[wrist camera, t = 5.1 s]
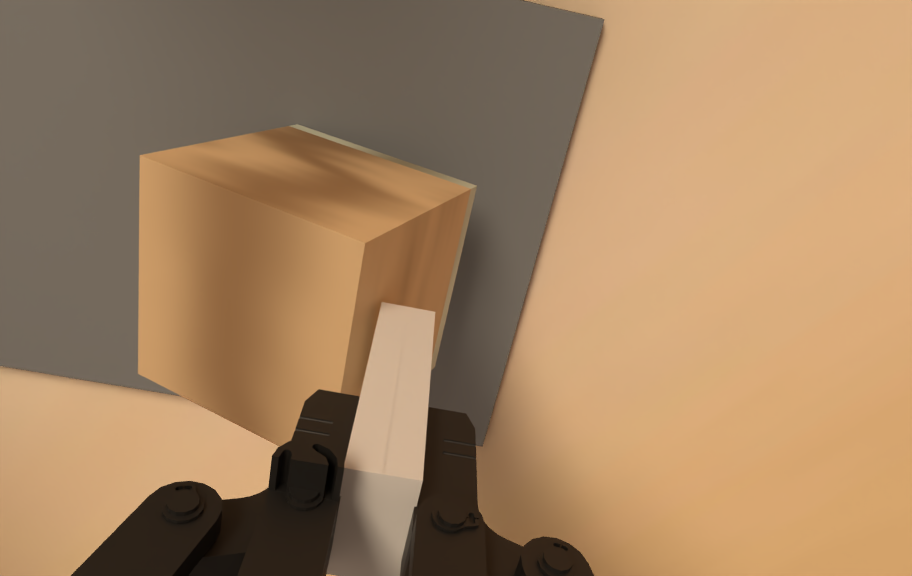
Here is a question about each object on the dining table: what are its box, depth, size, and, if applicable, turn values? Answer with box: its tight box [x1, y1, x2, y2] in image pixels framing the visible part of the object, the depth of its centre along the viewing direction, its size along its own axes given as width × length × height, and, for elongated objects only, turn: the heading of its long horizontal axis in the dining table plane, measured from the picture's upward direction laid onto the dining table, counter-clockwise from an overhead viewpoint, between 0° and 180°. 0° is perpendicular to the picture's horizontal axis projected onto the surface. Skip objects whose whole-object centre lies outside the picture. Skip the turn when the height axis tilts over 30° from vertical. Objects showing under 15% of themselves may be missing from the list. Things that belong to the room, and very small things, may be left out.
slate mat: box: [0, 0, 604, 446], centre depth 25 cm, size 26×18×1 cm
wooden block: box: [138, 124, 477, 446], centre depth 22 cm, size 7×7×7 cm
